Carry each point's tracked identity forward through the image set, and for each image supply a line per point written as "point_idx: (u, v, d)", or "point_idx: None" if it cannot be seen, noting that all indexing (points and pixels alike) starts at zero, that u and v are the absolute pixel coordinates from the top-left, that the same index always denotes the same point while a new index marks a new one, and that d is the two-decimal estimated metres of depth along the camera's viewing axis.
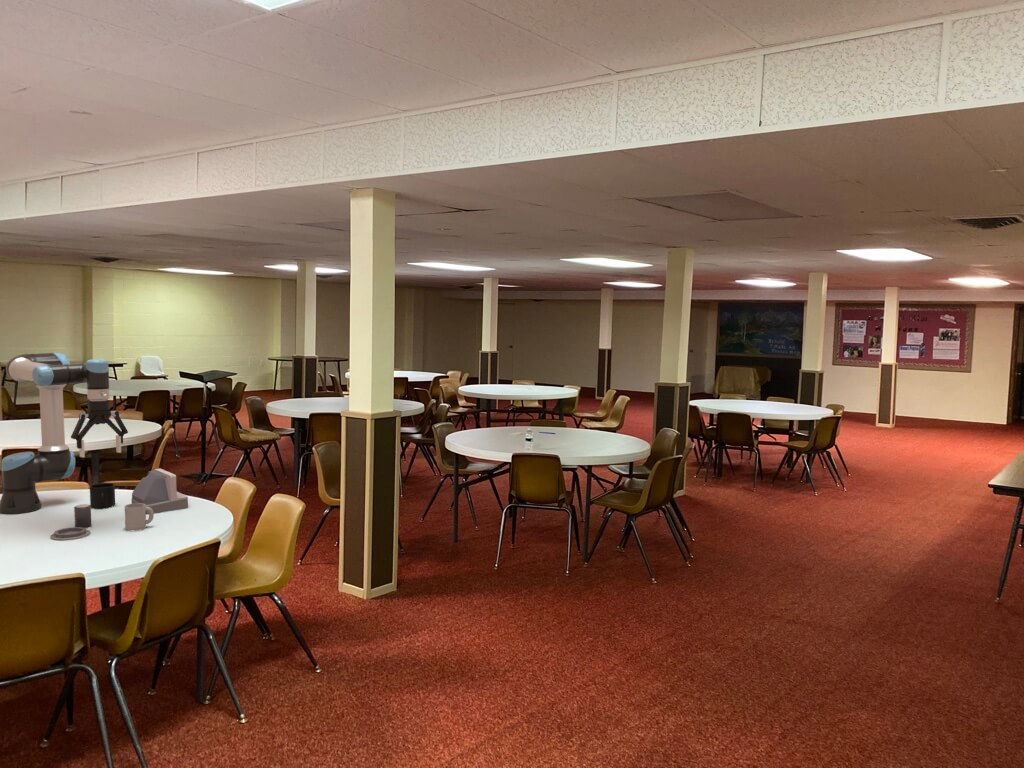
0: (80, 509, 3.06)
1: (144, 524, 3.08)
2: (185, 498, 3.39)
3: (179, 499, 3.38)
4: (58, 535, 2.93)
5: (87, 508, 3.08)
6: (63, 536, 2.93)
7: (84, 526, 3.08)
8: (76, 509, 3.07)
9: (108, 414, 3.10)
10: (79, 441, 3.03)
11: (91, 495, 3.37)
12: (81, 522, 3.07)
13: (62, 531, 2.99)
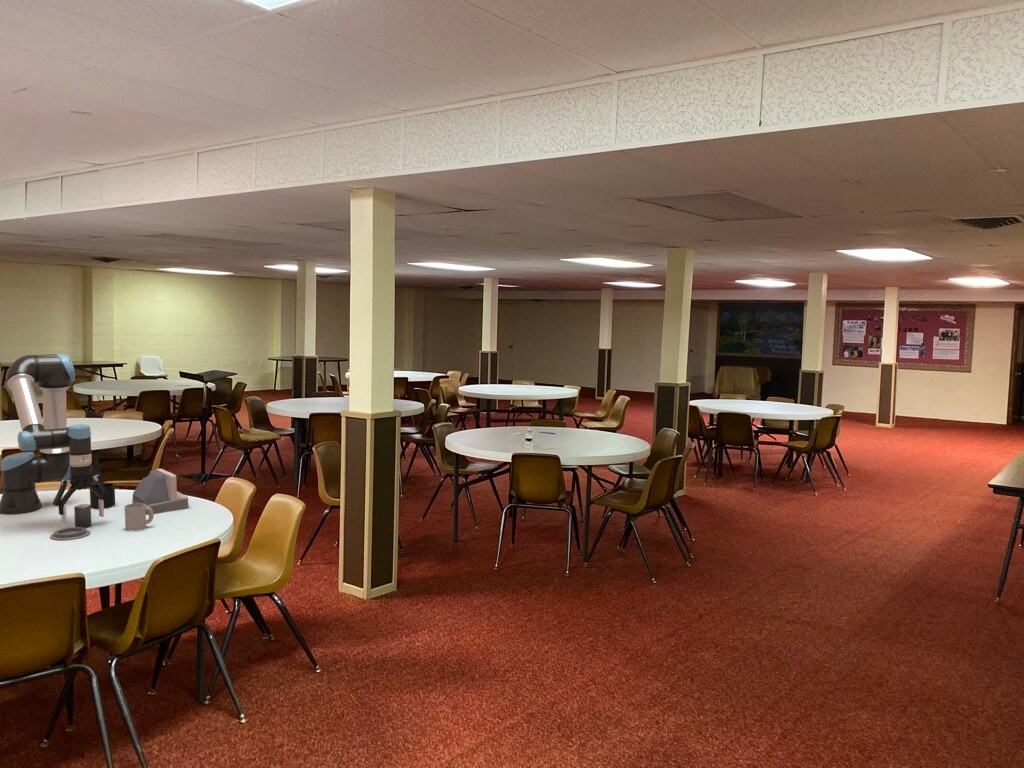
0: (80, 509, 3.06)
1: (144, 524, 3.08)
2: (185, 498, 3.39)
3: (180, 499, 3.37)
4: (58, 535, 2.93)
5: (87, 508, 3.08)
6: (63, 536, 2.93)
7: (84, 526, 3.08)
8: (76, 509, 3.07)
9: (90, 479, 3.10)
10: (61, 507, 3.02)
11: (91, 495, 3.37)
12: (81, 522, 3.07)
13: (62, 531, 2.99)
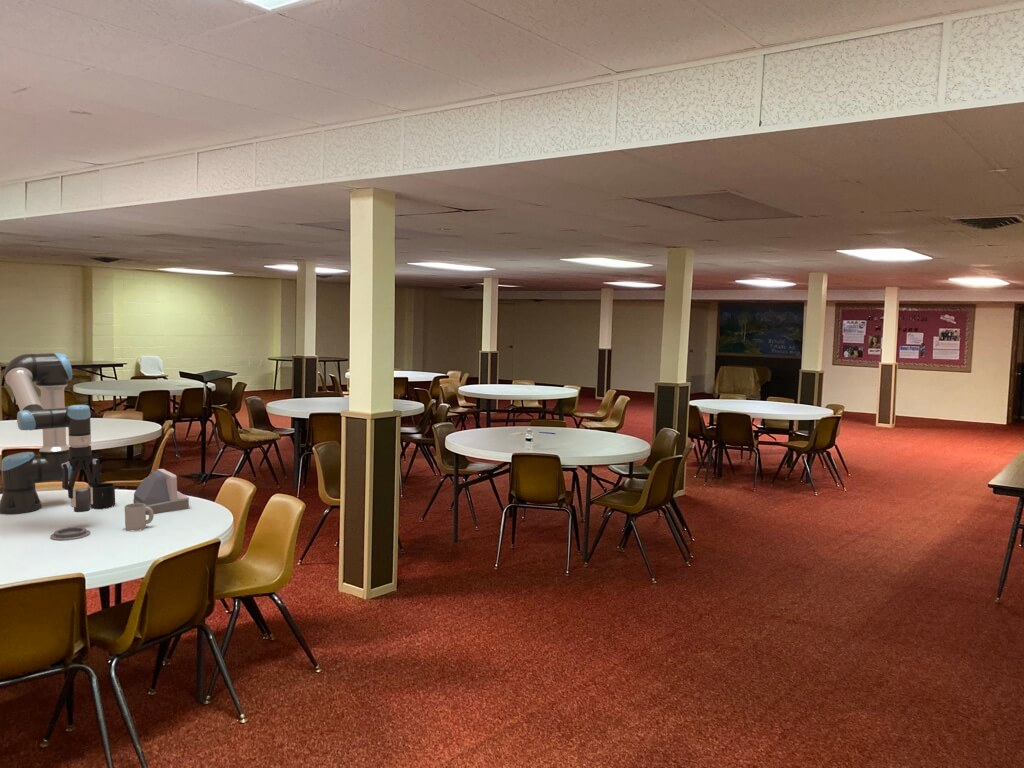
0: (79, 493, 3.06)
1: (144, 524, 3.08)
2: (186, 499, 3.38)
3: (180, 499, 3.36)
4: (58, 535, 2.93)
5: (86, 492, 3.08)
6: (63, 536, 2.93)
7: (83, 510, 3.07)
8: None
9: (89, 459, 3.09)
10: (70, 491, 3.05)
11: None
12: (80, 505, 3.07)
13: (62, 531, 2.99)
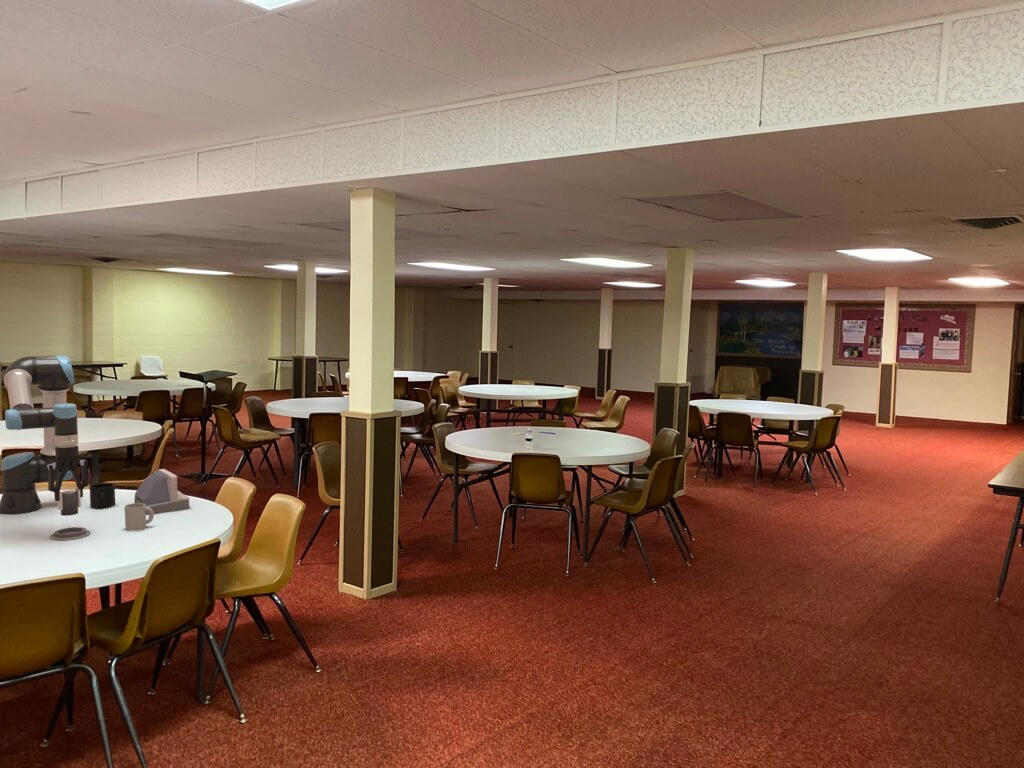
0: (66, 495, 2.94)
1: (144, 524, 3.08)
2: (186, 499, 3.37)
3: (180, 500, 3.36)
4: (58, 535, 2.93)
5: (73, 494, 2.95)
6: (63, 536, 2.93)
7: (70, 513, 2.95)
8: (62, 495, 2.94)
9: (77, 460, 2.97)
10: (57, 493, 2.93)
11: (91, 495, 3.37)
12: (67, 508, 2.94)
13: (62, 531, 2.99)
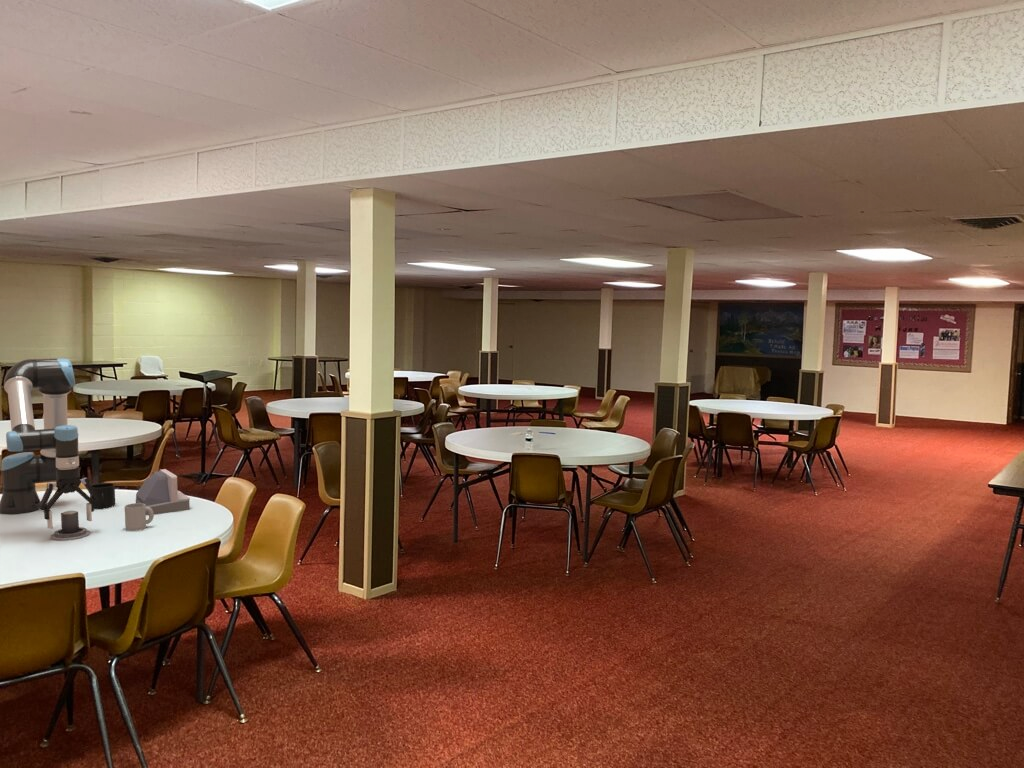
0: (67, 516, 2.95)
1: (144, 524, 3.08)
2: (186, 499, 3.37)
3: (180, 500, 3.35)
4: (58, 535, 2.93)
5: (74, 515, 2.96)
6: (63, 536, 2.93)
7: (71, 533, 2.96)
8: (63, 516, 2.95)
9: (78, 482, 2.98)
10: (47, 512, 2.91)
11: None
12: (68, 529, 2.95)
13: None
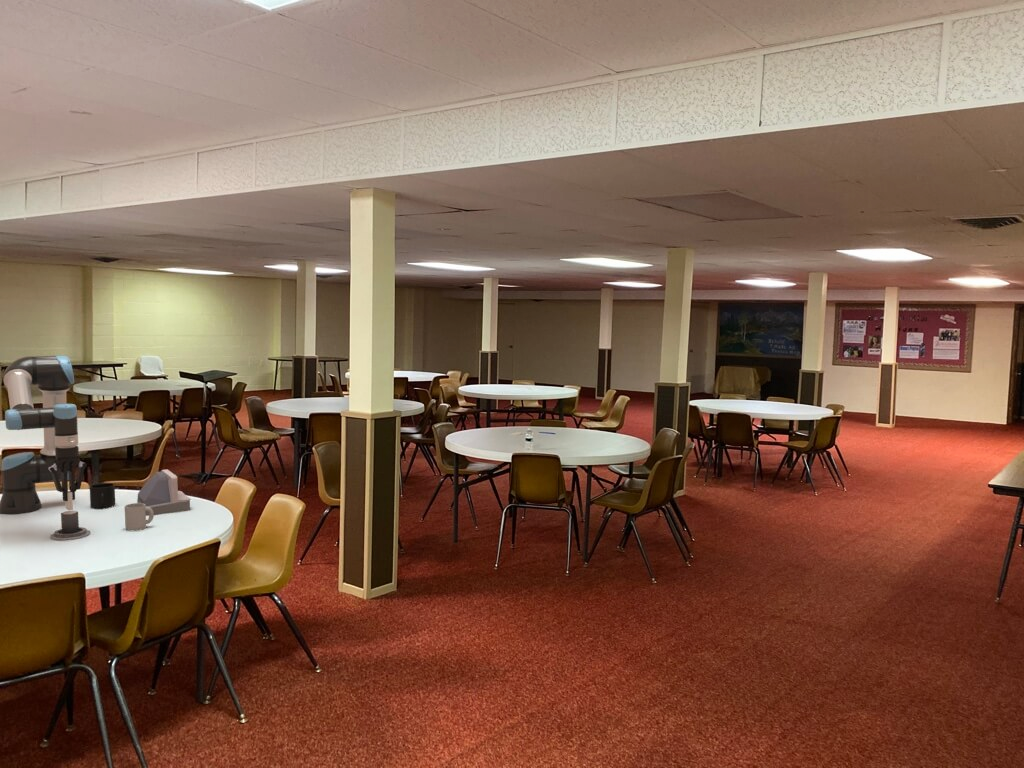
0: (67, 516, 2.95)
1: (144, 524, 3.08)
2: (187, 500, 3.35)
3: (181, 501, 3.34)
4: (58, 535, 2.93)
5: (74, 515, 2.96)
6: (63, 536, 2.93)
7: (71, 533, 2.96)
8: (63, 516, 2.95)
9: (77, 461, 2.97)
10: (65, 494, 2.95)
11: (91, 495, 3.37)
12: (68, 529, 2.95)
13: None
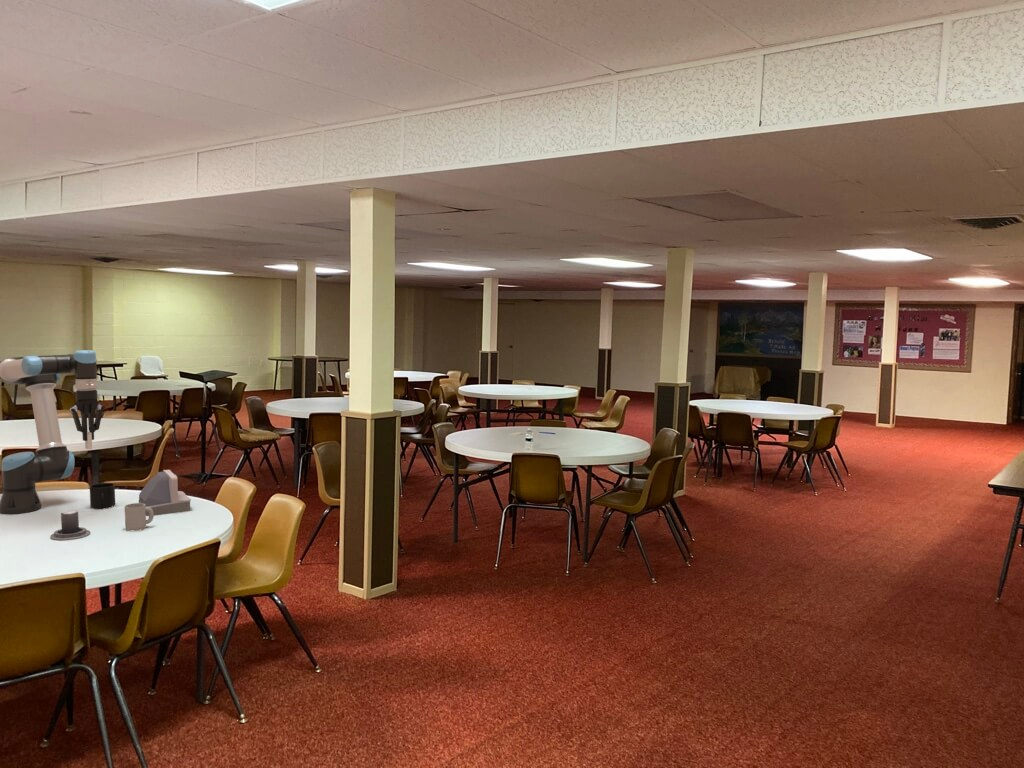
0: (67, 516, 2.95)
1: (144, 524, 3.08)
2: (187, 501, 3.34)
3: (181, 501, 3.33)
4: (58, 535, 2.93)
5: (74, 515, 2.96)
6: (63, 536, 2.93)
7: (71, 533, 2.96)
8: (63, 516, 2.95)
9: (96, 403, 3.19)
10: (85, 434, 3.17)
11: (91, 495, 3.37)
12: (68, 529, 2.95)
13: None
